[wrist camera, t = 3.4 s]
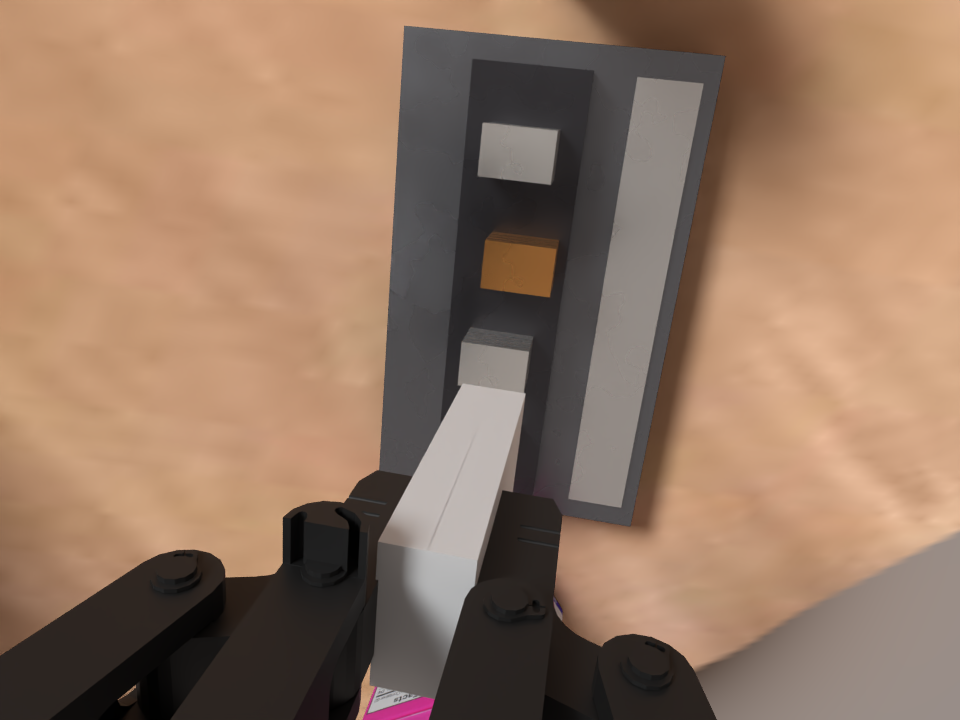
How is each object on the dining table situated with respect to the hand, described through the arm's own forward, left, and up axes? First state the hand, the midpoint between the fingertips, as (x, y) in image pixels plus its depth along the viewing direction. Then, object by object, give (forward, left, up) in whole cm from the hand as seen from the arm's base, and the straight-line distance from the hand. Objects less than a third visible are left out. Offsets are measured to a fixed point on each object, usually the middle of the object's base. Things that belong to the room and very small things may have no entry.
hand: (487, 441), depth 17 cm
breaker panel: (0, 0, -16) cm, 16 cm away
